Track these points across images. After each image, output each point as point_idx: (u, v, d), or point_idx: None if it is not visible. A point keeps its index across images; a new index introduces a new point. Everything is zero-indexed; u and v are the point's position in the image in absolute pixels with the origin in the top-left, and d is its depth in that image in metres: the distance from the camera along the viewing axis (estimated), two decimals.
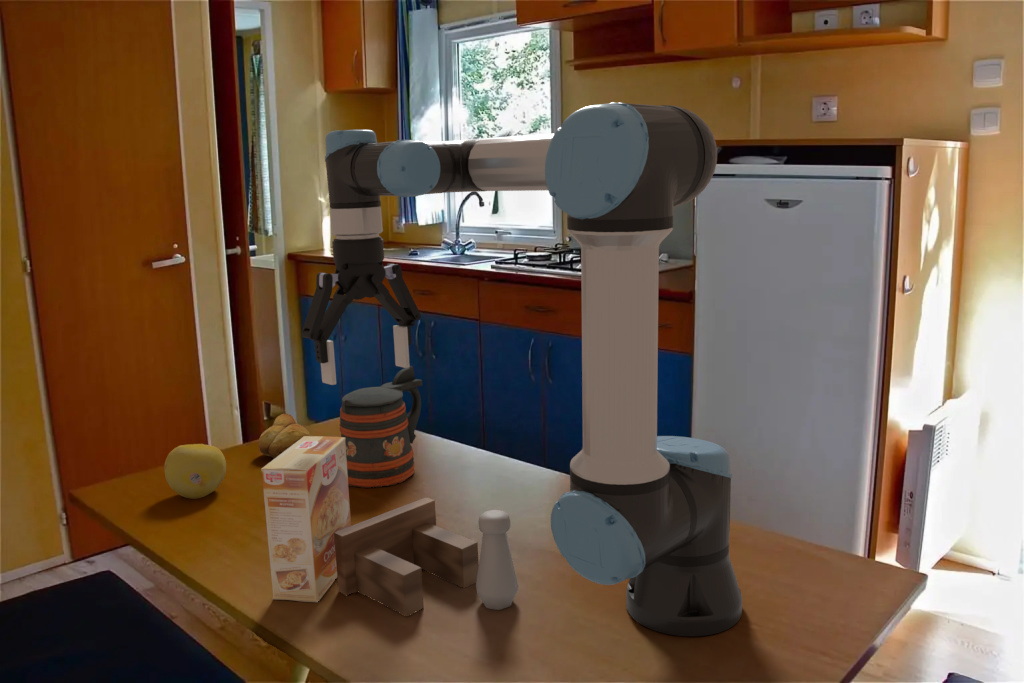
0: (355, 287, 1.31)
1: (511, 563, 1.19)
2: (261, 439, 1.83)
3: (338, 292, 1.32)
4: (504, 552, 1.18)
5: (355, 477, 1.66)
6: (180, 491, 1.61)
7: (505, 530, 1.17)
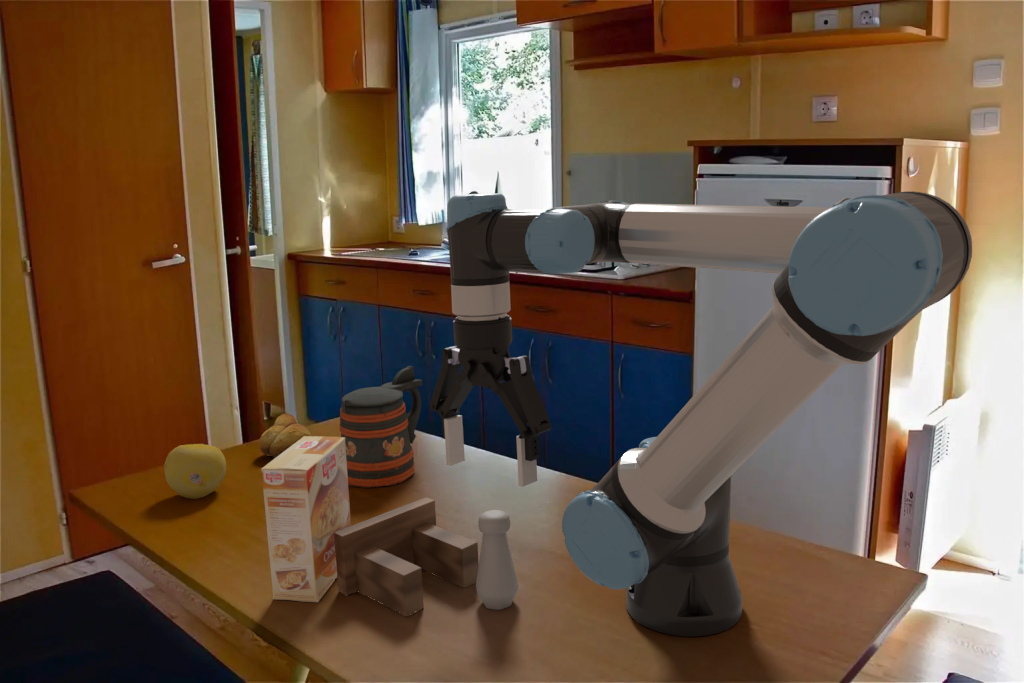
0: (463, 371, 1.15)
1: (511, 563, 1.19)
2: (262, 439, 1.83)
3: None
4: (504, 552, 1.18)
5: (355, 477, 1.66)
6: (180, 491, 1.61)
7: (505, 530, 1.17)
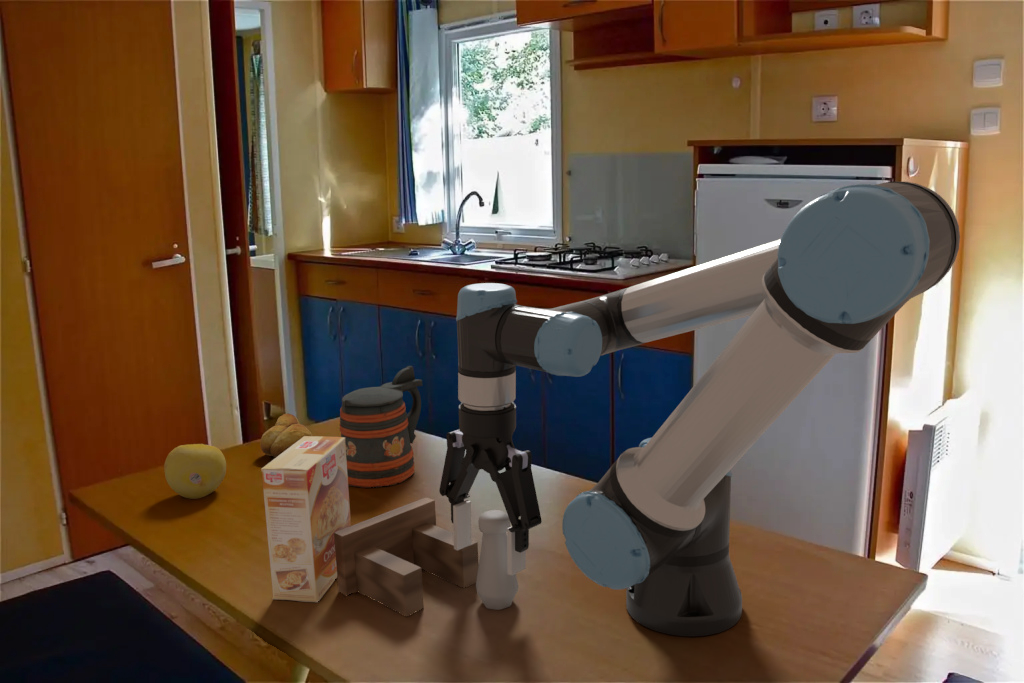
0: (467, 455, 1.18)
1: None
2: (263, 439, 1.83)
3: None
4: (504, 552, 1.18)
5: (355, 477, 1.66)
6: (180, 491, 1.61)
7: (505, 530, 1.17)
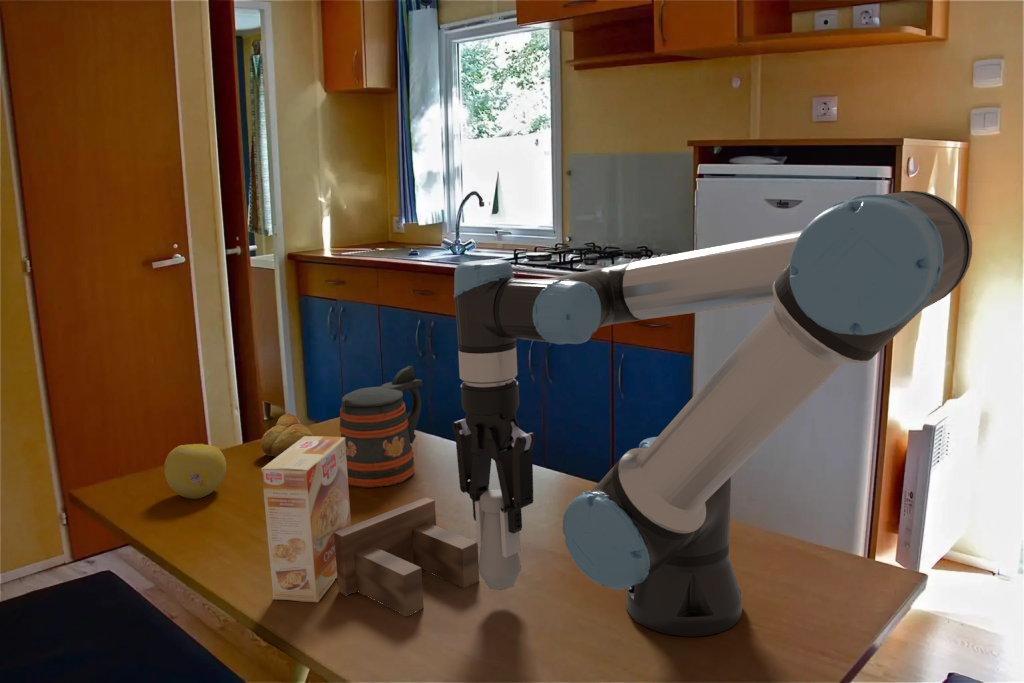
0: (474, 437, 1.16)
1: None
2: (263, 439, 1.83)
3: None
4: None
5: (355, 477, 1.66)
6: (180, 491, 1.61)
7: None
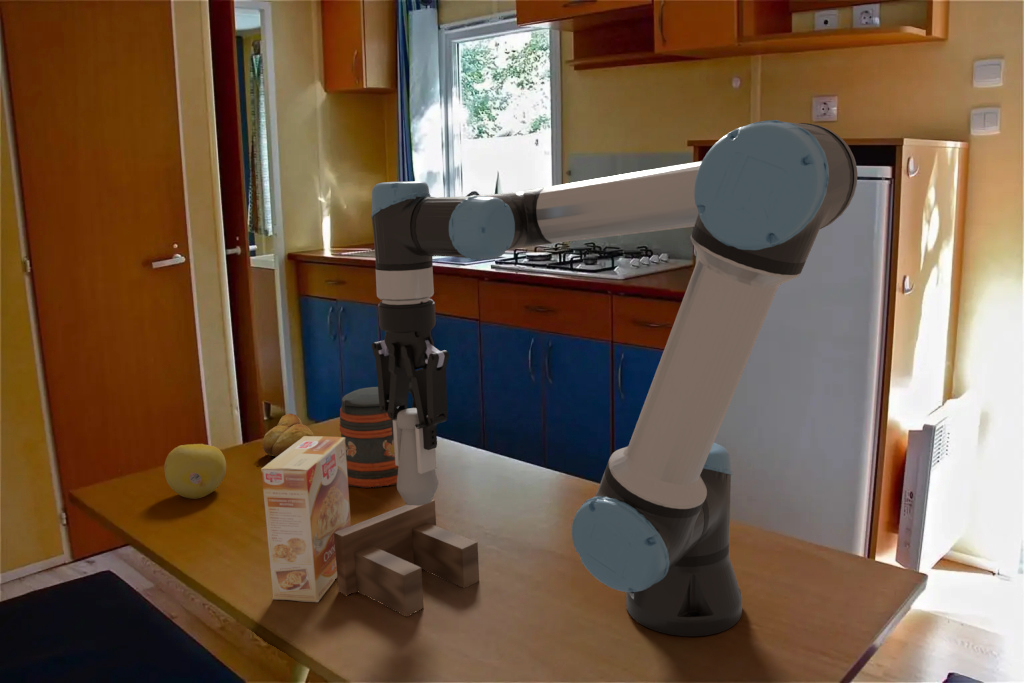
0: (391, 356, 1.19)
1: None
2: (265, 439, 1.83)
3: None
4: None
5: (355, 477, 1.66)
6: (180, 491, 1.61)
7: None
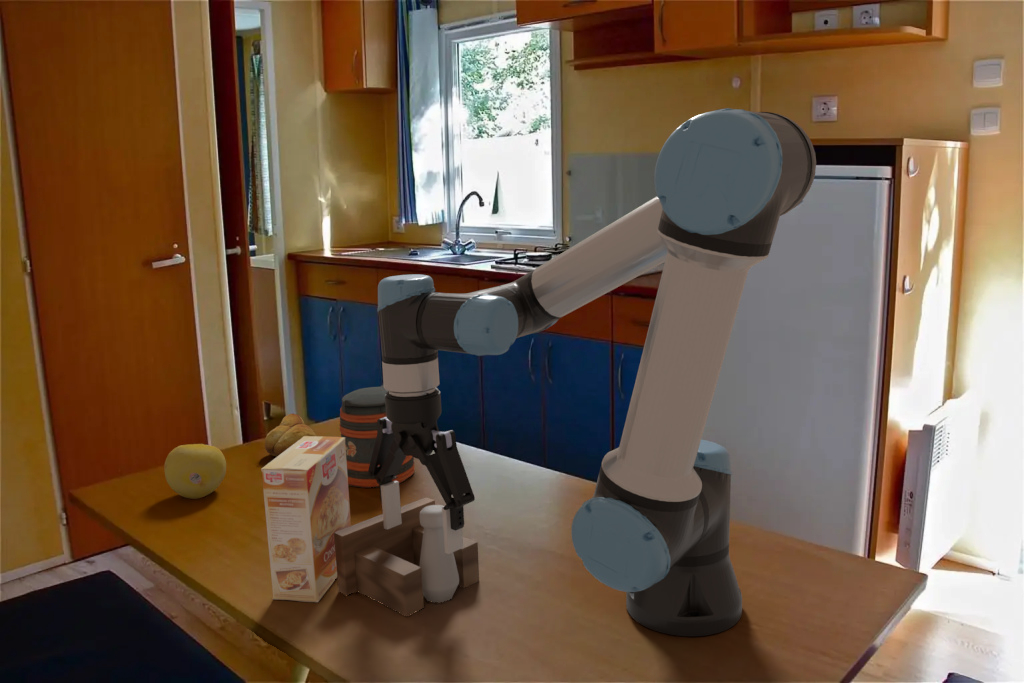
0: (395, 441, 1.21)
1: (452, 557, 1.22)
2: (267, 439, 1.83)
3: None
4: None
5: (355, 477, 1.66)
6: (180, 491, 1.61)
7: None
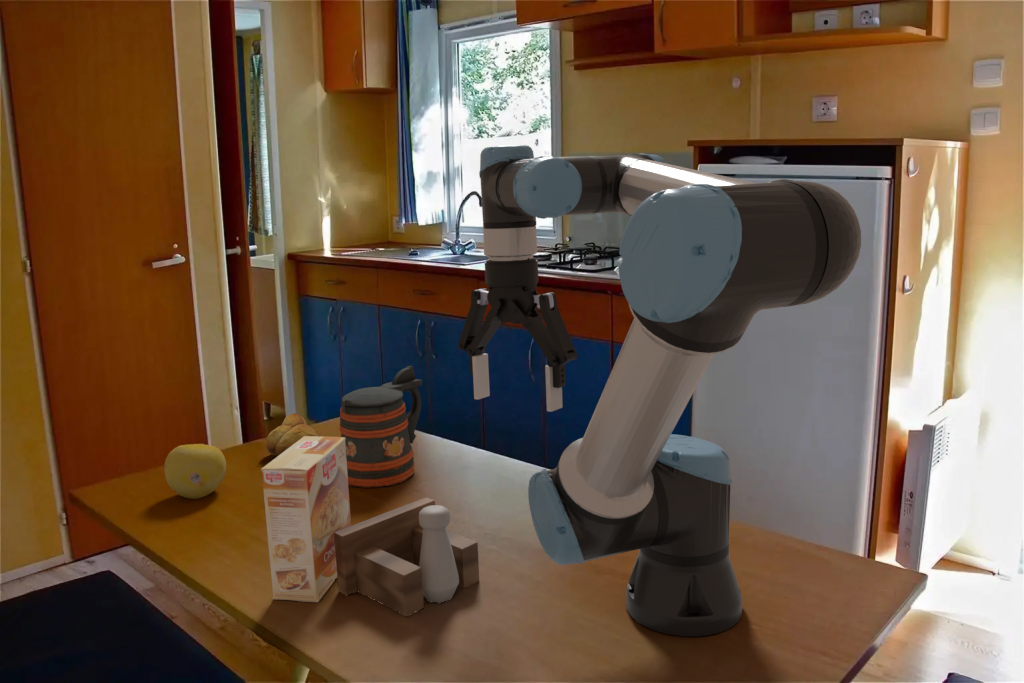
0: (493, 309, 1.26)
1: (451, 557, 1.22)
2: (268, 438, 1.83)
3: None
4: (444, 547, 1.21)
5: (355, 477, 1.66)
6: (180, 491, 1.61)
7: (444, 525, 1.20)
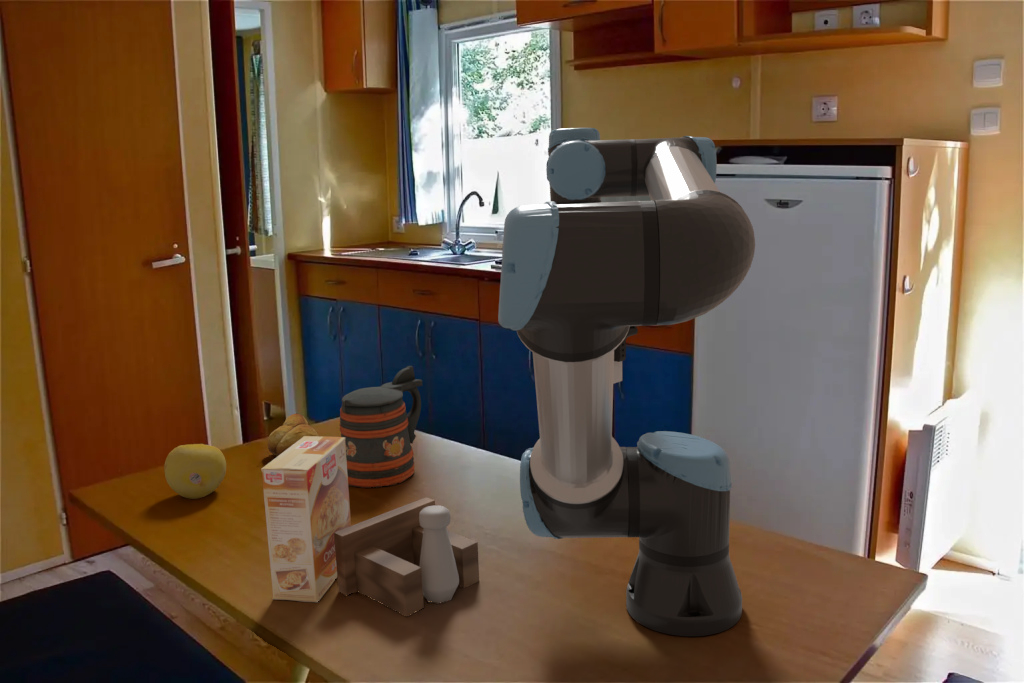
0: None
1: (451, 557, 1.22)
2: (269, 438, 1.83)
3: None
4: (444, 547, 1.21)
5: (355, 477, 1.66)
6: (180, 491, 1.61)
7: (445, 525, 1.20)
